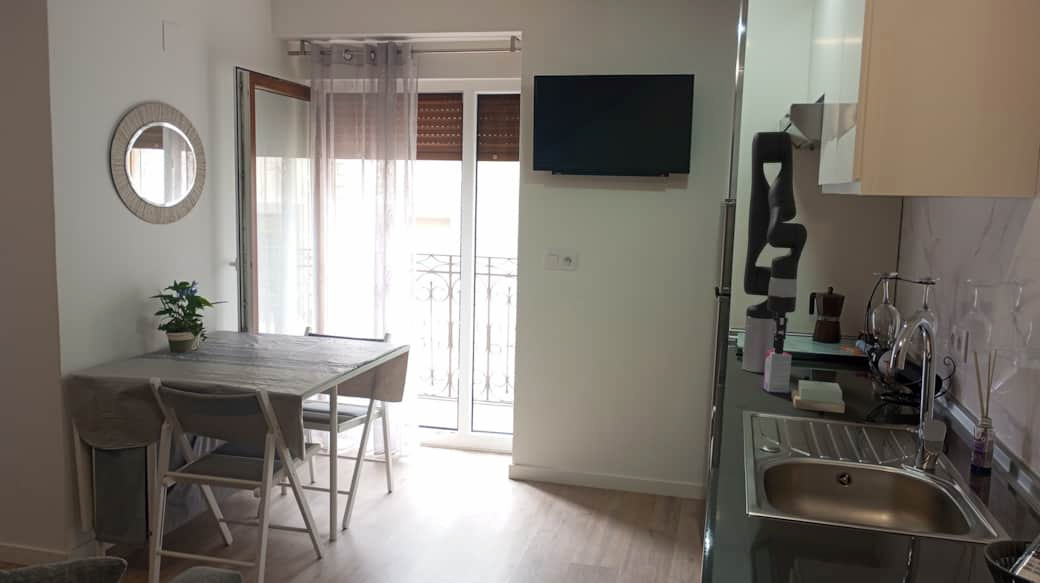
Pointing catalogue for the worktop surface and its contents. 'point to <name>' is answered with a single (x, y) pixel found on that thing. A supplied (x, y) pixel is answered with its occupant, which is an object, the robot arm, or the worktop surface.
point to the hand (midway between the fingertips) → (777, 351)
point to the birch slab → (816, 404)
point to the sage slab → (819, 391)
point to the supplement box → (777, 372)
